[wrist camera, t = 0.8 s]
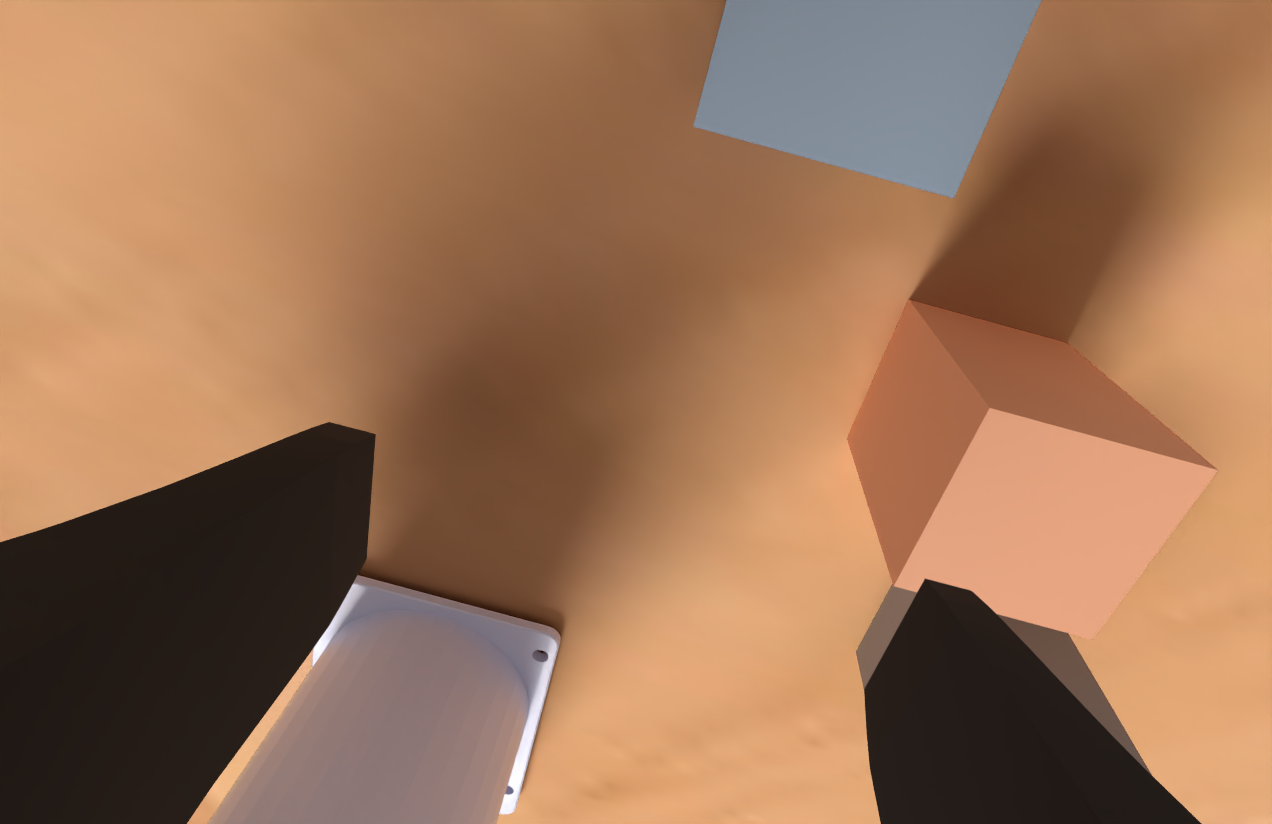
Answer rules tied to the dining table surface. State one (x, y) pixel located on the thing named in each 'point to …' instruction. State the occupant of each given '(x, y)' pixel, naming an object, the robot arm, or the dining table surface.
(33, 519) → the dining table surface
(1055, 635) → the gray block
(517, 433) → the dining table surface
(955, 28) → the slate-blue block
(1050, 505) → the terracotta block
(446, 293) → the dining table surface
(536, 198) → the dining table surface
